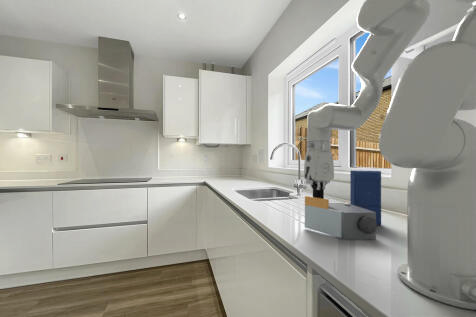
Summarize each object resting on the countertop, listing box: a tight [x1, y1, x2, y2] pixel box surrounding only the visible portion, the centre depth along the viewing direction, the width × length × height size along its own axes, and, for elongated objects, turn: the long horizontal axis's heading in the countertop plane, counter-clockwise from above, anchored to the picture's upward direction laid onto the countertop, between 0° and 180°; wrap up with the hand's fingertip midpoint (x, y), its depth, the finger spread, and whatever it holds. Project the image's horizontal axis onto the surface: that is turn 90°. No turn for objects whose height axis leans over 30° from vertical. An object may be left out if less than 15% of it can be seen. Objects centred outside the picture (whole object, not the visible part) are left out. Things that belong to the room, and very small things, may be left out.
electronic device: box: [349, 170, 382, 226], centre depth 77 cm, size 10×5×20 cm, turn 84°
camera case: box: [329, 202, 378, 241], centre depth 67 cm, size 16×10×9 cm, turn 5°
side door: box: [304, 195, 342, 238], centre depth 65 cm, size 12×1×11 cm, turn 40°
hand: (318, 201), depth 69 cm, fingers closed
